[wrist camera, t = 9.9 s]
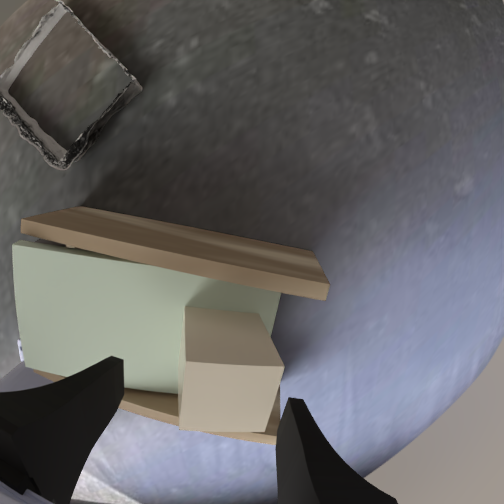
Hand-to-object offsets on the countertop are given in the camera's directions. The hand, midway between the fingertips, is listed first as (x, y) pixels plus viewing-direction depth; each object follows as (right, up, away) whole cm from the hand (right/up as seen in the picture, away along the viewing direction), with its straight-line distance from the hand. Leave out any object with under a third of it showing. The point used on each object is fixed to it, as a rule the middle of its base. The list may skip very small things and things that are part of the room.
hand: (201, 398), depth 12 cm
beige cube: (0, +1, +5) cm, 5 cm away
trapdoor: (-5, +3, +7) cm, 9 cm away
